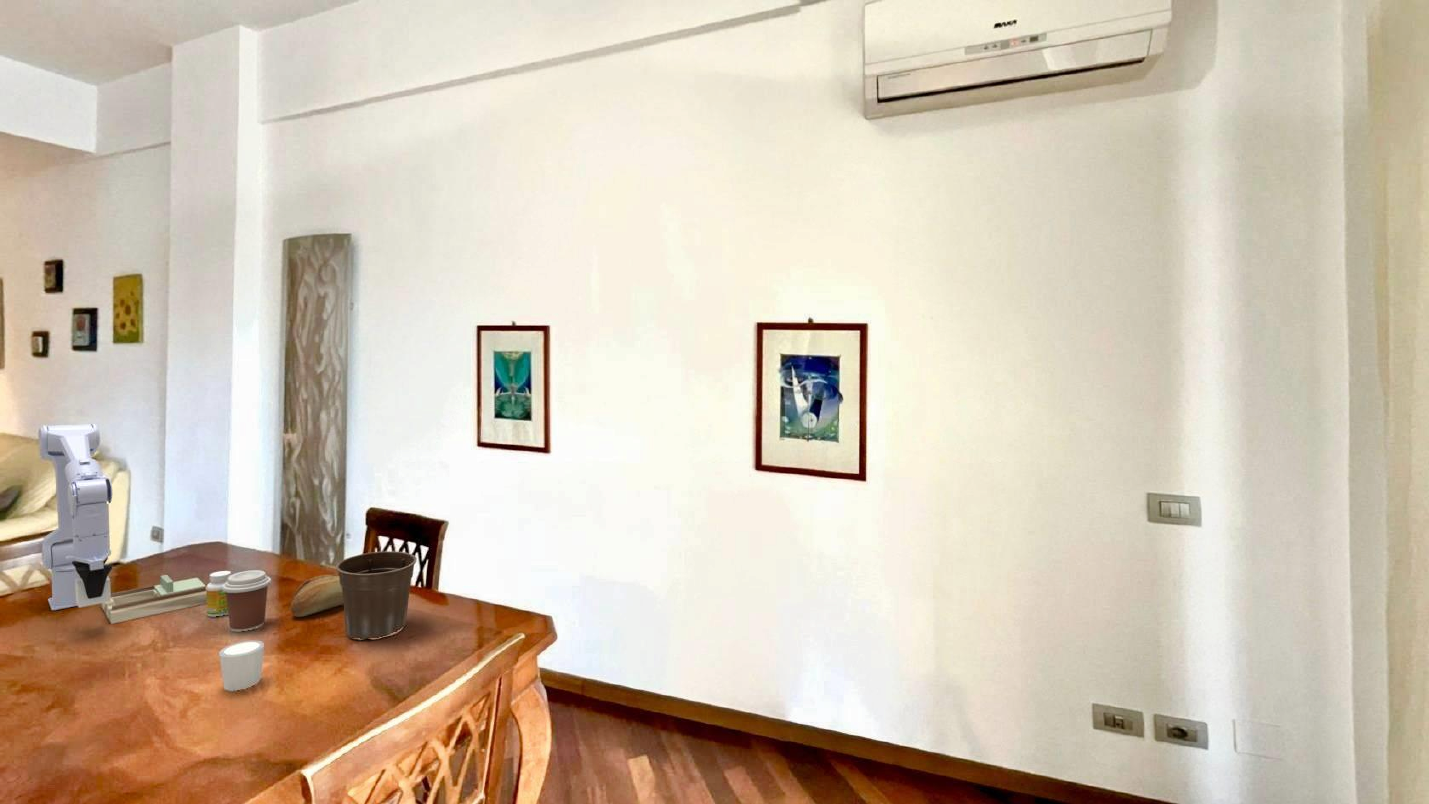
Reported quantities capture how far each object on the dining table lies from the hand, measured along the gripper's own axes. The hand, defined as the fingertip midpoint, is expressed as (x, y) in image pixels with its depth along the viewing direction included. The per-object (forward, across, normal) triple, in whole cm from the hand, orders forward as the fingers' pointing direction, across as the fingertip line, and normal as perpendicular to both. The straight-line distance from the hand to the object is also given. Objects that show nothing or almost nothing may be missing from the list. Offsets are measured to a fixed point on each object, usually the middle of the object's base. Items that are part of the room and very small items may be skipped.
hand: (93, 594), depth 138 cm
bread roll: (+9, +22, +38) cm, 45 cm away
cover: (+6, -9, +16) cm, 20 cm away
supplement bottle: (+9, +8, +21) cm, 24 cm away
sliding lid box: (+8, -9, +12) cm, 17 cm away
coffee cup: (+8, +21, +23) cm, 32 cm away
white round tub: (+8, +50, +15) cm, 53 cm away
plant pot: (+8, +44, +42) cm, 61 cm away
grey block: (+2, 0, 0) cm, 2 cm away
